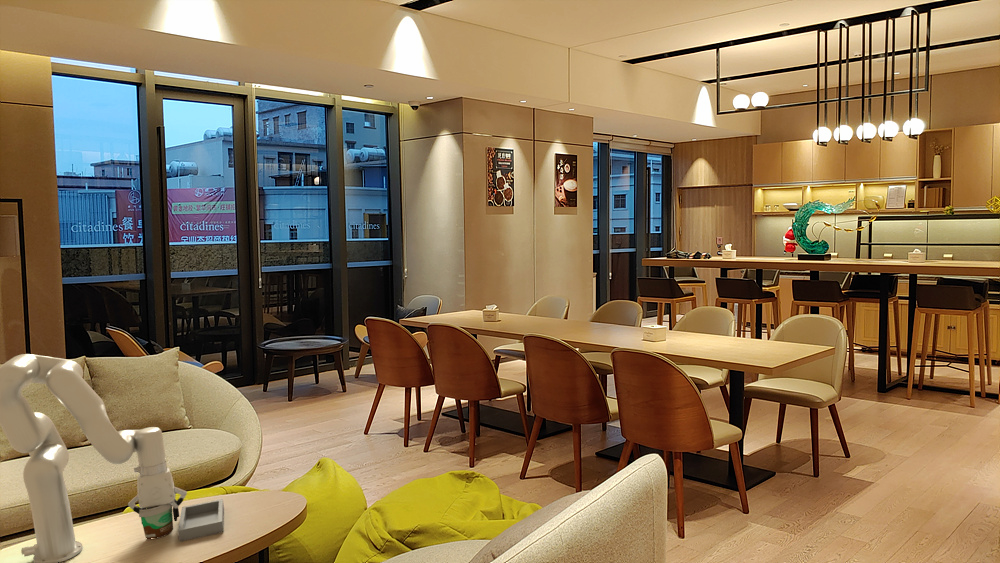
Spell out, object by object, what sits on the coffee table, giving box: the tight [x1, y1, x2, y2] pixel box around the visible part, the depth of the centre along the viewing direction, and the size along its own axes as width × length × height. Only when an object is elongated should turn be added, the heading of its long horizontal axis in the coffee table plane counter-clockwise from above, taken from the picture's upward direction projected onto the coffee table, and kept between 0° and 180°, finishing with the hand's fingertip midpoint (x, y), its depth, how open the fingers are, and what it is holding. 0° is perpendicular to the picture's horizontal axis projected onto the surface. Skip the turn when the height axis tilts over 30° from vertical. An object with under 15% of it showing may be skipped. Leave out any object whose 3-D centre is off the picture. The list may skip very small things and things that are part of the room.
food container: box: [138, 504, 174, 540], centre depth 227 cm, size 12×6×10 cm, turn 168°
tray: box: [177, 498, 225, 543], centre depth 231 cm, size 12×18×4 cm
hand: (161, 522), depth 227 cm, fingers closed on food container, 7 cm apart
